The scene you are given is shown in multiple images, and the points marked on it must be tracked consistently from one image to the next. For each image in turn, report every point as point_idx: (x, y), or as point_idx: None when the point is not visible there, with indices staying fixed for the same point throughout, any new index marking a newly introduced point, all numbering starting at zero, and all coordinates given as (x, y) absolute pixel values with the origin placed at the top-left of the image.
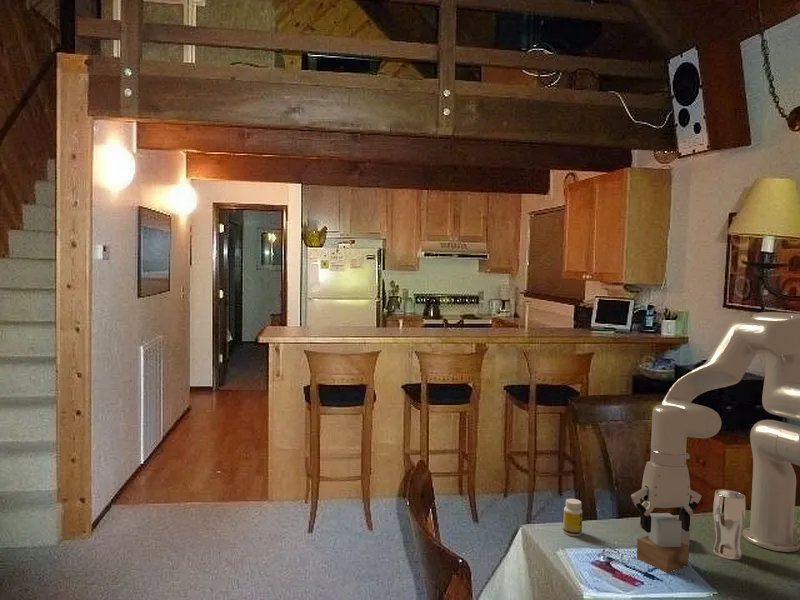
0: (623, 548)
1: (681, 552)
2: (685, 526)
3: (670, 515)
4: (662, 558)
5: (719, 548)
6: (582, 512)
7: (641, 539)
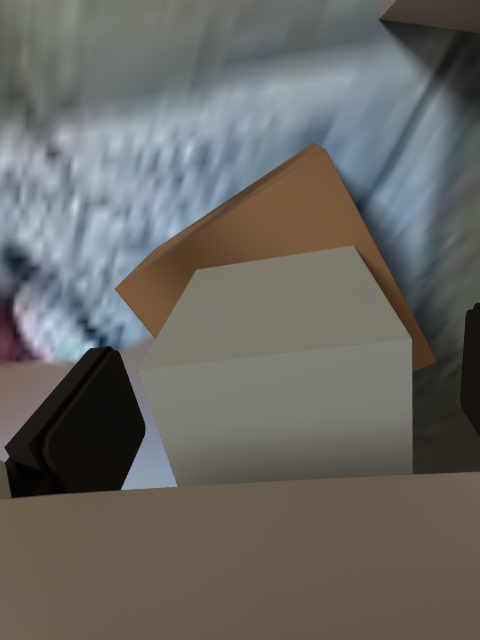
0: (106, 122)
1: None
2: (476, 424)
3: (384, 408)
4: None
5: None
6: None
7: (138, 296)
